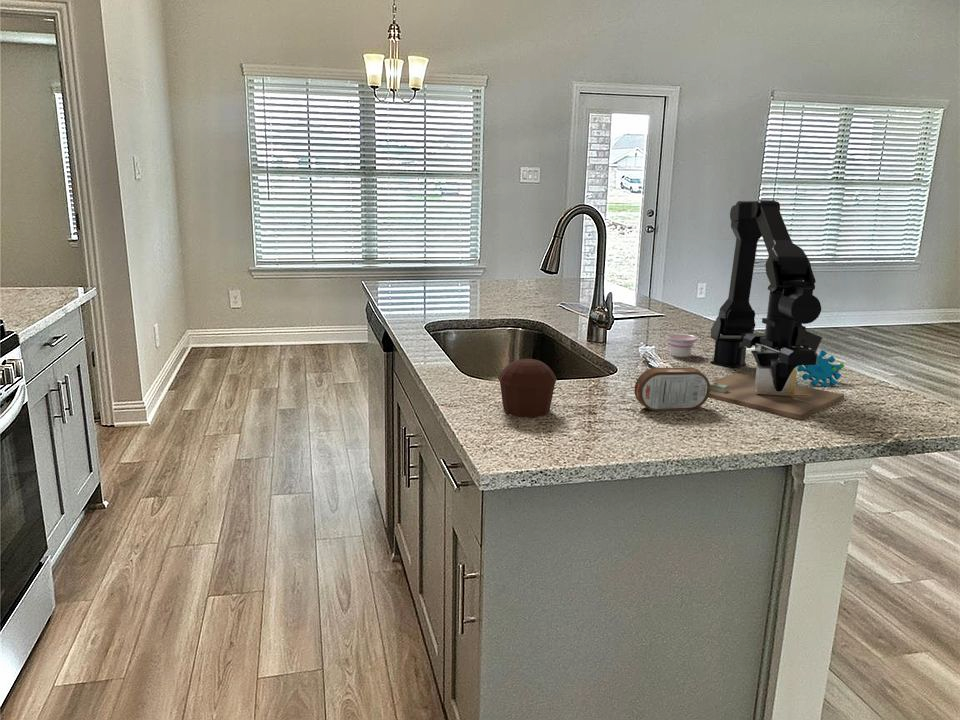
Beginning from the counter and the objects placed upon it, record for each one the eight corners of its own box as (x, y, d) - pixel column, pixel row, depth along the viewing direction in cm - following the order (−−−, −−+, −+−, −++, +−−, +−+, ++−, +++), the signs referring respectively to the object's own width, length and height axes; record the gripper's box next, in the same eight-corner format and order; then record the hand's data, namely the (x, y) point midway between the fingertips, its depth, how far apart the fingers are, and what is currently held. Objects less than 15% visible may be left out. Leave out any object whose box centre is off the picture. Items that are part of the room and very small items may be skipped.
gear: (806, 385, 155) (793, 346, 160) (793, 397, 160) (782, 359, 165) (853, 385, 156) (839, 346, 161) (839, 397, 161) (826, 359, 166)
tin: (702, 406, 141) (706, 365, 140) (710, 410, 138) (714, 369, 136) (632, 408, 139) (635, 367, 137) (638, 413, 136) (641, 371, 134)
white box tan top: (756, 394, 146) (759, 368, 145) (754, 390, 149) (756, 364, 148) (793, 396, 145) (797, 370, 143) (790, 392, 148) (793, 367, 146)
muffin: (521, 398, 144) (522, 351, 142) (566, 409, 137) (569, 360, 135) (485, 411, 135) (486, 361, 133) (531, 424, 128) (533, 371, 126)
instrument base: (687, 393, 150) (688, 381, 150) (736, 376, 165) (738, 365, 164) (800, 420, 133) (801, 406, 133) (843, 399, 148) (845, 386, 147)
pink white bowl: (705, 366, 175) (708, 342, 174) (656, 363, 177) (658, 339, 176) (700, 356, 187) (702, 333, 185) (654, 353, 189) (655, 331, 187)
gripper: (847, 323, 135) (836, 400, 139) (792, 307, 153) (783, 376, 157) (794, 323, 134) (784, 401, 137) (745, 307, 152) (737, 377, 155)
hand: (773, 388), depth 147 cm, fingers closed on white box tan top, 4 cm apart
